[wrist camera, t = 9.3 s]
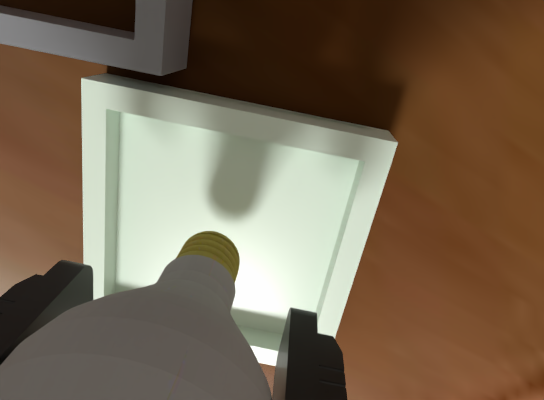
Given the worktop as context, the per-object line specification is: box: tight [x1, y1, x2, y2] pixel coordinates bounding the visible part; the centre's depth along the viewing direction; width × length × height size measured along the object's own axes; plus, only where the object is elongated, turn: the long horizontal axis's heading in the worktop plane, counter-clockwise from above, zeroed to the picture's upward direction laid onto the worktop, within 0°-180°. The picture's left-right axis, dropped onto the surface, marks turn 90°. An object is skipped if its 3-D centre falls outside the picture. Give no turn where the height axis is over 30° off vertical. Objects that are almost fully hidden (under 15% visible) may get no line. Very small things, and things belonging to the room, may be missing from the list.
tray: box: [81, 73, 398, 366], centre depth 15 cm, size 10×10×2 cm
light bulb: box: [0, 231, 272, 400], centre depth 9 cm, size 6×6×10 cm
